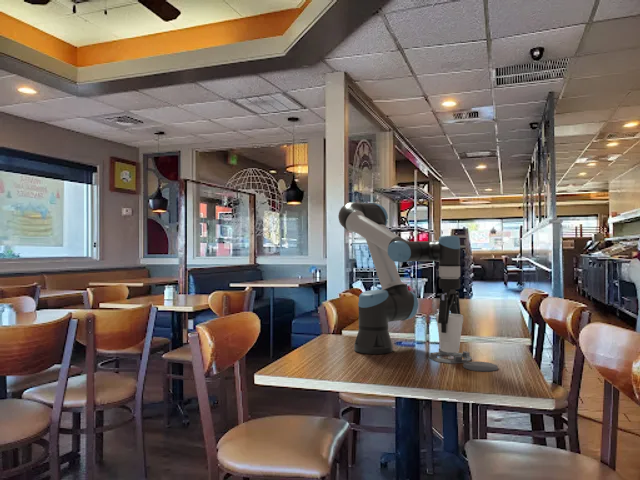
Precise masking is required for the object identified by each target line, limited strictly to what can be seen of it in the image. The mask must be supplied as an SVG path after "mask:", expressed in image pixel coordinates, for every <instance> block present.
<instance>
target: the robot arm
mask: <svg viewBox="0 0 640 480" xmlns="http://www.w3.org/2000/svg"><path fill="white" fill-rule="evenodd" d="M337 216H338V221H339V224H340V225H341V226H342V227H343V229H345V230H346V231H348V232H350V233H356V234H358V235H359V236H360V237H362V238H364V239H365V241H366V244H367V247H368V250H369V253H370V256H371V259H372V263H373V265H374V268H375V271H376V275H377V278H378V280H379V283H380V286H381V289H370V290H367V291H366V290H365V291H363V292H361V293H360V294H359V295H358V304H357V306H358V307H357V308H358V332H357V335H356V339H355V341H354V343H353V344H354V345H353V346H354V352H357V353H360V354H367V355H385V354H390V353H392V352H394V345H393V342H392V339H391V336H390V333H389V323H390V322H391V323H392V322H398V321H400V322H401V321H403V322H404V321H407V320H410V319H412V318H414V317H415V315H417V312H418V309H419V298H418V297H417V294H415V293H414V292H413V291H411V290H409V287H408V286H407V284H406V283H404V282H402V280H401V279H402V278H401V277H400V274H399V271H398V269H397V265H396V262H398V263H405V262H408V263H409V262H438V269H437V271H438V273H439V274H438V276H439V279H438V288H439V289H441V290H442V291H443V292H442V294H441V293H440V294H439V306H438V314H439V316H438V323H441V342H449V324H447V323H448V318H449V313H452V314H461V306H460V305H461V304H460V292H459V291H456V290H459V289H461V279H460V277H461V249H462V248H461V239H460V237H459V236H458V235H440V236H439V237H438V241H432V240H431V241H429V240H427V241H426V240H422V241H419V240H418V241H416V240H413V241H412V240H409V241H408V240H406V239H405V238H403V237H401V236H399V235H398V234H395V232H392V231H391V230H389V229H387V225H388V219H389V217H388V213H387V210H386V208H385V207H384V206H383V205H381V204H378V203H374V202H370V203H368V202H367V203H366V202H355V201H352V202H347V203H345V204H344V205H343V206H342V207H340V209H339V212H338V215H337Z"/></svg>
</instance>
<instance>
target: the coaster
mask: <svg viewBox="0 0 640 480" xmlns="http://www.w3.org/2000/svg"><path fill="white" fill-rule="evenodd" d="M462 366H463V367H462V368H464V369H466V370H468V371H474V372H479V373H481V372H482V373H483V372H485V373H487V372H488V373H489V372H490V373H491V372H495V371H498V369H499V368H498V367H499V366H498V364H495V363H492V362H487V361H479V360H478V361H477V360H476V361H475V360H474V361H472V360H471V361H468V362H465V363H462Z"/></svg>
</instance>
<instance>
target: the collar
mask: <svg viewBox="0 0 640 480" xmlns="http://www.w3.org/2000/svg"><path fill="white" fill-rule="evenodd" d="M439 356H453V359H447V358H440V357H439ZM428 358H429V359H430V360H432V361H434V362H438V363H445V364H464V363H465V362H471V361H472V356H471V355H470V351H466V350H463V351H462V352H454V353H451V352H443V351H441V348H439V349H438V351H434V352H430V354H429V356H428Z"/></svg>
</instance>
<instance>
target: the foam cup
mask: <svg viewBox="0 0 640 480" xmlns="http://www.w3.org/2000/svg"><path fill="white" fill-rule="evenodd" d="M438 316H439V313H436V323H437V330H438V331H437V332H438V338H439V347H440V349H441V351H443V352H451V353H454V352H456V353H460V346H461V345H460V344H461V336H462V332H463V331H462V329H463V322H464V315H463V314H461V313H460V314H452V313H451V312H449V318H448V323H447V324H449V342H441V323H438Z"/></svg>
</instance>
